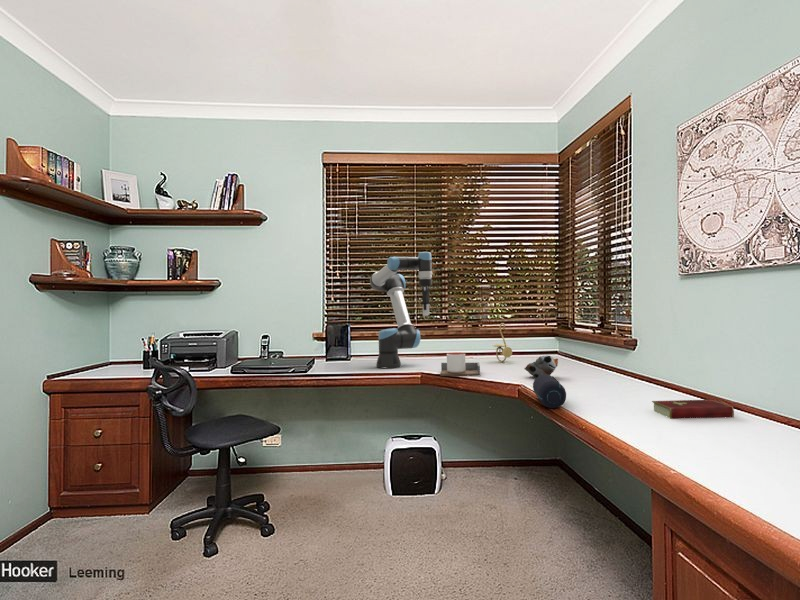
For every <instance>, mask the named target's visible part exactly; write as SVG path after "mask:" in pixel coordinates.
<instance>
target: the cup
mask: <svg viewBox="0 0 800 600" xmlns="http://www.w3.org/2000/svg"><path fill="white" fill-rule="evenodd" d="M446 363H447V371H448V372H450V373H462V372H465V370H466V367H465V363H466V353H465V352H448V353H446Z"/></svg>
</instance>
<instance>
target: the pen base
mask: <svg viewBox="0 0 800 600" xmlns="http://www.w3.org/2000/svg"><path fill="white" fill-rule="evenodd" d="M467 375H480V376H481V373H480V374H478V370H465V372H462V373H450V372H448V371H447V370H441V371H440V374H439V376H440V377H468V376H467Z"/></svg>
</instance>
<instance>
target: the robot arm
mask: <svg viewBox="0 0 800 600" xmlns="http://www.w3.org/2000/svg"><path fill="white" fill-rule="evenodd" d="M432 259H433V258H432V253H431V252H429V251H422V252H421V251H420V252H418V255H417V256H389V257H388V258H387V261H386V263H387V264H385V265H384V266H383V267H382V268H380V269H379V271H376V272H374V273H373V274H372V275H371V276H370V278H369V283H370V287H371V288H372V289H374V290H375V291H377V292H386V295H387V297H390V302H391V306H392V309H393V313H394V317H395V321H396V323H397V324H396V325H397V328H396V327H393V328H392V327H391V328H386V329H380V330H379V332H378V357H377V360H376V363H375V364H376V365H375V366H377V367H388V368H387V369H395V368H394V367H398V368H401V367H402V362H401V360H400V357H399V353H398V351H399V350H402V349H403V350H404V349H406V350H407V349H409V350H410V349H416V348H417V347H418V346H419V345H420V343H421V338H422V337H421V332H420V329H418V328H416V327H415V324H412V322H411V319H410V314H409V311H408V307H407V305H406V301H405V296H404V292H405V290H406V286H407V285H406V279H405V277H404V275H402V274H400V273H398V272H399V271H402V270H405V271H407V270H408V271H409V270H410V271H411V270H412V271H418V286H419V287H421V286H422V290H421V292H422V301H421V305H422V317H428V316H430V305H431V301H430V288H429V287H430V286H432V285H433V280H432V278H433V277H432V275H433V274H434V273H433V271H432V269H433V268H432V267H433V265H432V264H433V263H432ZM400 366H401V367H400ZM377 367H376V368H377Z"/></svg>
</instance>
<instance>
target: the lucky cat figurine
mask: <svg viewBox="0 0 800 600" xmlns="http://www.w3.org/2000/svg"><path fill="white" fill-rule="evenodd" d="M558 365H559V358H554V357H553V356H551V355H540V356H539V357H538V358H536V359H535V361H533V362H530V363H528V364H527V365H526V366H525V367H524V370H525V371H527V373H528V374H530V375H531V376H532V377H535V378H537V377H538V376H540V375H543V374H547V375H550V376H552V374H553V373H554V371H556V368H557V367H558Z"/></svg>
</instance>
